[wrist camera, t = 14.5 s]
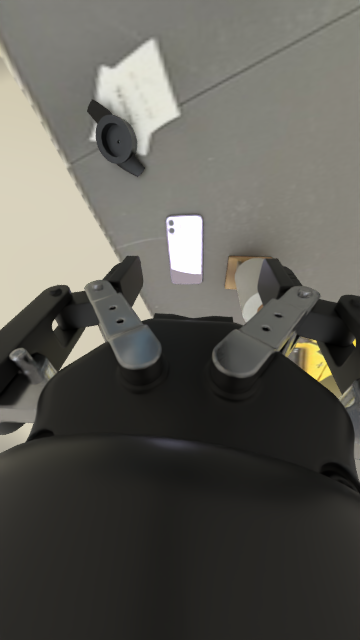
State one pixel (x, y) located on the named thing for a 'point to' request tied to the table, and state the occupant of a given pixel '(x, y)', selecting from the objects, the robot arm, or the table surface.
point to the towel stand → (249, 287)
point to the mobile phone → (185, 248)
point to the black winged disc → (115, 139)
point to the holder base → (233, 266)
